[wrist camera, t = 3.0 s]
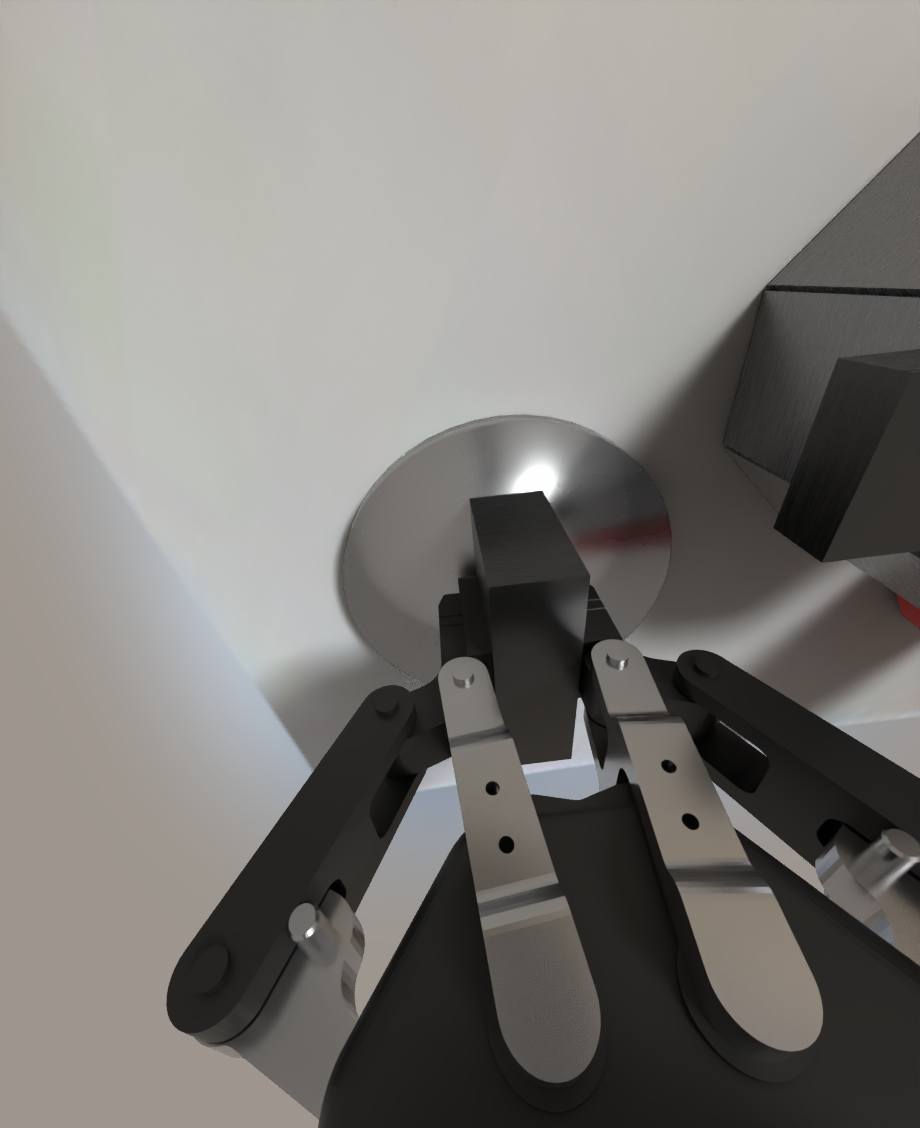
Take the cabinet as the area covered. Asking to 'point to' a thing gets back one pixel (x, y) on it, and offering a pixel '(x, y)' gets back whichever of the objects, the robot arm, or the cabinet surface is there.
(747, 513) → the cabinet surface
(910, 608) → the beer can
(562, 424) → the lid
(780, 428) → the pot
